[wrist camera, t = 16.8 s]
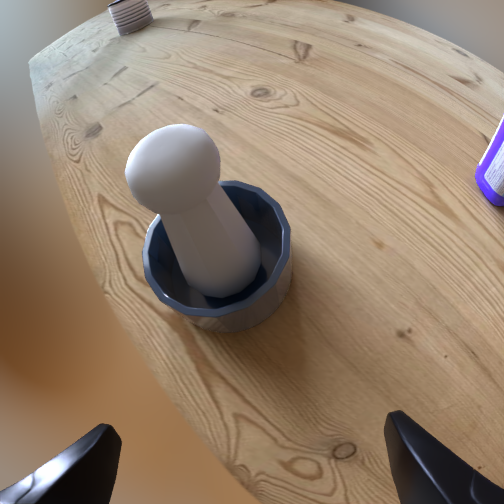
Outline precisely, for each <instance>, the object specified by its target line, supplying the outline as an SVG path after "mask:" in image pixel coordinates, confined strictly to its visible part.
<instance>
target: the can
mask: <svg viewBox="0 0 504 504" xmlns="http://www.w3.org/2000/svg"><path fill="white" fill-rule="evenodd" d="M108 8H109V11H110V13H111V16H112V18H113V20H114V23H115V25H116V27H117V30H118V32H119V34H120V35H124V34H129V33H131V32H134V31H136V30H139V29H141V28H143V27H145V26H147V25H149V24H150V23H151V22H152V21H154V19H153V17H152V14H151V11H150V8H149V6H148V3H147V0H117V1H115V2H114V3H112V4H110V5H109V6H108Z"/></svg>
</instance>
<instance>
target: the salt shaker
mask: <svg viewBox="0 0 504 504" xmlns="http://www.w3.org/2000/svg"><path fill="white" fill-rule="evenodd" d="M125 176H126V179H127V182H128V185H129V188H130V190H131V193H132V195H133V197H134V198H135V199H136V200H137V201H138V202H139V204H141V205H143V206H144V207H146V208H147V209H149V210H151V211H152V212H154V213H157V214H159V215H160V217H161V220H162V222H163V225H164V228H165V230H166V233H167V235H168V238H169V240H170V243H171V245H172V248H173V250H174V253H175V255H176V257H177V260H178V263H179V265H180V268H181V270H182V273H183V275H184V277H185V279H186V281H187V283H188V285H189V286H191V287H192V288H194V289H195V290H197V291H198V292H200V293H201V294H203V295H205V296H212V297H218V298H224V297H227V296H230V295H233V294H236V293H239V292H241V291H242V290H243V289H244V288H246V287H247V286H248V285H249V284H250V283H251V282H253V281H254V279H255V277H256V274H257V272H258V269H259V267H260V264H261V250H260V243H259V241H258V240H257V238H256V237H255V235H254V234H253V232H252V231H251V230H250V228H249V227H248V225H247V224H246V222H245V221H244V219H243V218H242V216H241V215H240V213H239V212H238V210H237V209H236V208H235V206H234V205H233V203H232V202H231V200H230V199H229V197H228V196H227V194H226V193H225V191H224V190H223V189H222V187H221V186H220V184H219V183H218V181H219V178H220V155H219V151H218V148H217V147H216V145H215V143H214V142H213V140H212V139H211V138H210V136H209V135H208V134H207V133H206V132H205V130H204V129H201V128H198V127H194V126H191V125H187V124H177V125H168V126H166V127H163V128H160V129H158V130H155V131H153V132H152V133H150V134H149V135H148V136H146V137H145V138H144V139H142V140H141V141H140V142H139V143H138V144H137V146H136V147H135V148H134V149H133V151H132V152H131V154H130V156H129V158H128V162H127V166H126V170H125Z"/></svg>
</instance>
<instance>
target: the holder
mask: <svg viewBox="0 0 504 504" xmlns="http://www.w3.org/2000/svg"><path fill="white" fill-rule="evenodd" d="M218 183H219V184H220V186H221V187H222V189H223V190H224V191H225V193H226V194H227V196H228V197H229V199H230V200H231V202H232V203H233V205H234V206H235V208H236V209H237V210H238V212H239V213H240V215H241V216H242V218H243V219H244V221H245V222H246V224H247V225H248V227H249V228H250V230H251V231H252V232H253V234H254V235H255V237H256V238H257V240H258V241H259V243H260V250H261V264H260V267H259V269H258V272H257V274H256V277H255V279H254V281H253V282H251V283H250V284H249V285H248V286H247V287H246V288H244V289H243V290H242V291H241V292H239V293H236V294H233V295H230V296H227V297H224V298H218V297H212V296H205V295H203V294H201V293H200V292H198V291H197V290H195V289H194V288H192V287H191V286H189V285H188V283H187V281H186V279H185V277H184V275H183V273H182V270H181V268H180V265H179V263H178V260H177V257H176V255H175V253H174V250H173V248H172V245H171V243H170V240H169V238H168V235H167V233H166V230H165V228H164V225H163V222H162V220H161V217H160V215H159V214H158V215H157V217H156V218H155V220H154V221H153V223H152V224H151V225H150V227H149V229H148V232H147V236H146V239H145V243H144V247H143V251H142V258H143V265H144V272H145V278H146V280H147V282H148V283H149V285H150V287H151V288H152V290H153V291H154V293H155V294H156V296H157V297H158V299H159V300H160V301H161V302H162V303H164V304H165V305H167V306H168V307H169V308H171V309H172V310H173V311H175V312H176V313H178V314H179V315H180V316H182V317H183V318H185V319H186V320H188V321H190V322H192V323H193V324H195V325H197V326H199V327H201V328H203V329H204V330H209V331H213V332H219V333H231V332H239V331H242V330H246V329H249V328H251V327H254V326H256V325H258V324H259V323H261V322H263V321H264V320H265V319H267V318H268V317H269V316H271V315H272V314H273V313H274V312H275V311H276V309H277V308H278V307H279V306H280V304H281V303H282V301H283V300H284V298H285V296H286V294H287V291H288V289H289V286H290V283H291V275H292V245H291V229H290V226H289V223H288V221H287V219H286V217H285V215H284V212H283V210H282V208H281V206H280V204H279V203H278V202H276V201H275V200H274V199H273V198H272V197H270V196H269V195H268V194H267V193H266V192H264V191H263V190H262V189H261V188H259V187H255V186H252V185H249V184H246V183H243V182H239V181H235V180H234V181H218Z"/></svg>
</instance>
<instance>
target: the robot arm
mask: <svg viewBox="0 0 504 504" xmlns="http://www.w3.org/2000/svg"><path fill="white" fill-rule="evenodd" d="M384 436H385V441H386V446H387V451H388V457H389V462H390V468H391V473H392V476H393V480H394V483H395V486H396V489H397V493H398V496H399V499H400V503H401V504H504V489H503V488H501V487H499V486H498V485H496V484H494V483H493V482H491V481H490V480H488V479H487V478H486V477H484V476H483V475H481V474H480V473H479V472H478V471H476V470H475V469H474V470H473V468H472V467H471V466H470V465H468V464H467V463H466V462H465V461H463V460H462V459H461V458H460V457H458V456H457V455H456V454H455V453H453V452H452V451H451V450H450V449H448V448H447V447H446V446H445V445H443V444H442V443H441V442H440V441H438V440H437V439H436V438H435V437H433V436H432V435H431V434H430V433H428V432H427V431H426V430H425V429H423V428H422V427H421V426H420V425H419V424H417V423H416V422H415V421H414V420H412V419H411V418H410V417H409V416H408V415H406V414H405V413H404V412H403V411H401V410H397V411H393V412H390V413H388V415H387V418H386V422H385V426H384ZM121 446H122V441H121V438H120V436H119V435H118V434H117V432H116V431H115V429H114V428H113V427H112V426H111V425H109V424H103V423H102V424H99V425H98V426H96V427H95V428H94V429H92V430H91V431H90V432H88V433H87V434H86V435H84V436H83V437H82V438H80V439H79V440H77V441H76V442H75V443H74V444H72V445H71V446H69V447H68V448H66V449H65V450H64V451H63V452H61V453H60V454H58V455H57V456H55V457H54V458H53V459H51V460H50V461H48V462H47V463H45V464H44V465H43V466H41V467H40V468H38V469H37V470H35V472H33V473H31V474H30V475H28V476H27V477H25V478H23V479H22V480H20V481H19V482H17V483H15V484H13V485H11V486H10V487H8V488H6V489H4V490H2V491H0V504H109V502H110V498H111V495H112V491H113V487H114V484H115V480H116V475H117V469H118V463H119V457H120V451H121Z"/></svg>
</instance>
